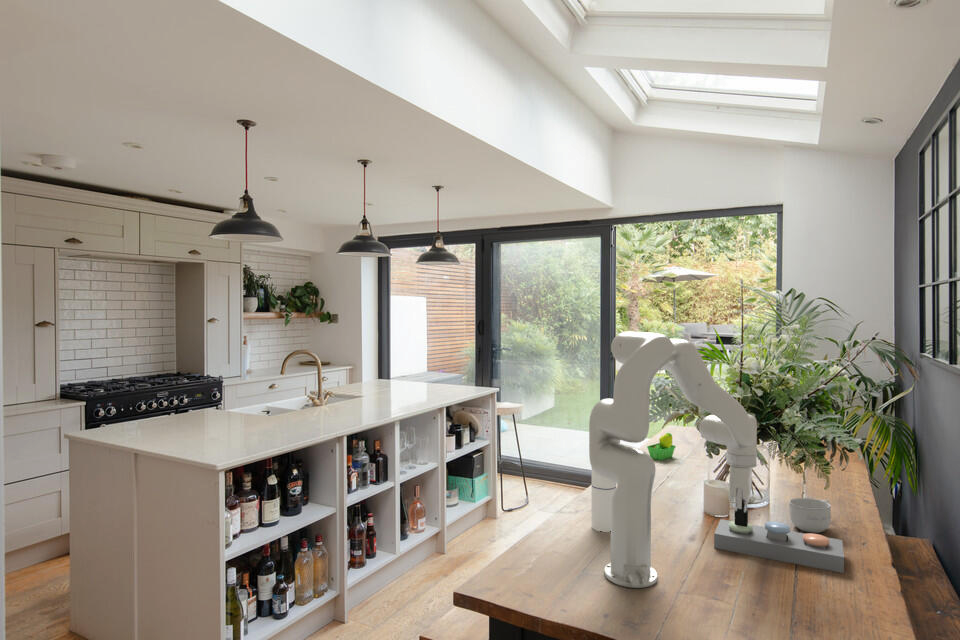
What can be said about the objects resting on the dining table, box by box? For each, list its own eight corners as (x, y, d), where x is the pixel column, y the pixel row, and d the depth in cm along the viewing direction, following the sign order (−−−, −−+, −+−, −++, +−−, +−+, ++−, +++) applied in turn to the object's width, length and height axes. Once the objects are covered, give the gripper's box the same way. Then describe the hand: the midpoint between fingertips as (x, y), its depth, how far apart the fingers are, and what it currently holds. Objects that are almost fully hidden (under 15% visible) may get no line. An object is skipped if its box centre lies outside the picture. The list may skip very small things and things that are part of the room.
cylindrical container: (588, 529, 171) (588, 445, 170) (595, 521, 177) (595, 440, 176) (612, 533, 167) (612, 448, 167) (618, 525, 174) (618, 442, 173)
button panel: (842, 554, 153) (842, 540, 153) (843, 573, 142) (844, 557, 142) (720, 532, 168) (720, 519, 168) (714, 547, 158) (714, 533, 157)
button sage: (753, 537, 161) (753, 523, 161) (751, 545, 156) (751, 530, 155) (730, 533, 164) (730, 519, 164) (727, 540, 159) (727, 526, 158)
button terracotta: (829, 551, 152) (829, 536, 152) (829, 559, 147) (829, 544, 146) (802, 546, 155) (803, 531, 155) (802, 554, 150) (802, 539, 149)
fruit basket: (661, 453, 257) (661, 428, 257) (679, 457, 250) (679, 431, 250) (646, 458, 250) (646, 432, 250) (664, 462, 243) (664, 435, 243)
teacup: (809, 538, 164) (809, 510, 164) (780, 524, 174) (780, 497, 174) (848, 532, 168) (848, 505, 168) (817, 519, 178) (817, 493, 178)
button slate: (790, 538, 156) (790, 524, 156) (789, 546, 151) (789, 531, 151) (765, 534, 159) (765, 519, 159) (763, 542, 154) (764, 527, 154)
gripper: (730, 451, 167) (729, 514, 168) (723, 464, 155) (722, 531, 155) (758, 454, 164) (758, 518, 164) (754, 467, 151) (753, 537, 151)
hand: (741, 524), depth 160 cm, fingers closed
